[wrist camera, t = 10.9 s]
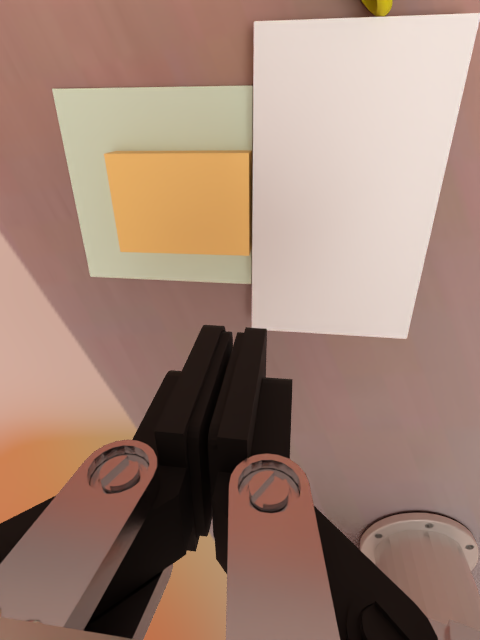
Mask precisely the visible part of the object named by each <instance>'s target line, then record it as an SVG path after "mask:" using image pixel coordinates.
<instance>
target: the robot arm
mask: <svg viewBox="0 0 480 640" xmlns="http://www.w3.org/2000/svg"><path fill="white" fill-rule="evenodd" d="M266 344H267V329H264V328H247V327H246V329H245V332H244V333H241V332H238V333H237V336H236V339H235V342H234V346H233V337H232V332H225V327H224V326H213V325H203V327H202V329H201V331H200V333H199V335H198V338H197V340H196V342H195V344H194V346H193V348H192V350H191V353H190V355H189V357H188V359H187V361H186V363H185V366H184V368H183V370H182V371H172V370H171V371H169V372H168V373H167V374H166V376H165V378H164V380H163V382H162V384H161V386H160V388H159V389H158V391H157V393H156V395H155V397H154V399H153V401H152V403H151V405H150V407H149V409H148V411H147V413H146V415H145V416H144V418H143V420H142V422H141V424H140V426H139V428H138V430H137V432H136V434H135V436H134V438H133V440H122V441H115V442H113V443H110V444H107V445H104V446H103V447H102V448H99V449H98V450H96V451H94V453H92V454H91V455H90V456H89V457H88V458H87V459H86V460H85V461H84V463H83V464H82V465H81V466H80V467H79V469H78V470H77V471H76V472H75V474H74V475H73V476H72V477H71V478H70V480H69V481H68V482H67V483H66V485H65V486H64V487H63V488H62V489H61V491H60V492H59V493H58V494H57V495H56V496H55V497H52V498H50V499H48V500H46V501H44V502H43V503H40V504H38V505H36V506H34V507H32V508H31V509H29V510H27V511H25V512H23V513H21V514H19V515H17V516H15V517H13V518H11V519H9V520H7V521H5V522H3V523H1V524H0V640H143V639H144V636H145V634H146V632H147V629H148V627H149V625H150V622H151V620H152V618H153V615H154V613H155V611H156V609H157V606H158V604H159V602H160V599H161V597H162V595H163V592H164V590H165V588H166V585H167V583H168V581H169V578H170V575H171V572H172V568H173V563H174V562H176V561H177V560H179V559H180V558H181V557H183V556H184V555H185V554H186V551H187V550H189V551H196V548H197V544H198V540H199V536H208V533H209V529H210V524H211V520H212V518H213V533H214V538H215V547H216V559H217V561H218V562H219V563H220V565H221V566H222V568H223V569H224V571H225V572H226V573H227V615H226V640H480V595H479V592H478V589H477V587H476V584H475V581H474V578H473V576H472V573H471V571H472V570H473V568H474V567H475V566H476V564H477V562H478V559H479V549H478V546H477V543H476V541H475V539H474V537H473V535H472V533H471V532H470V531H469V530H468V529H467V528H466V527H465V526H463V525H461V524H460V523H458V522H457V521H454V520H452V519H450V518H447V517H444V516H440V515H437V514H430V513H403V514H398V515H393V516H390V517H387V518H384V519H382V520H380V521H378V522H376V523H374V524H373V525H372V526H371V527H369V528H368V529H367V530H366V531H365V533H364V534H363V535H362V538H361V540H360V550H359V549H358V548H357V547H356V546H355V545H354V544H353V543H352V542H351V541H350V540H349V539H348V538H347V537H346V536H345V535H344V534H343V533H342V532H341V531H340V530H338V529H337V528H336V527H335V526H334V525H333V524H332V523H331V522H330V521H329V520H328V519H327V518H326V517H325V516H324V515H323V514H322V513H321V512H320V511H319V510H318V509H317V508H316V507H315V506H314V505H313V500H312V495H311V490H310V485H309V482H308V479H307V477H306V474H305V473H304V472H303V470H302V469H301V468H300V467H299V465H297V464H296V463H294V462H293V461H291V460H290V432H291V405H292V379H278V378H266Z"/></svg>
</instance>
